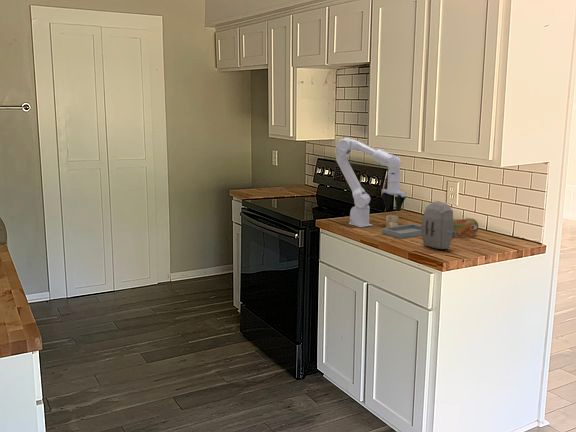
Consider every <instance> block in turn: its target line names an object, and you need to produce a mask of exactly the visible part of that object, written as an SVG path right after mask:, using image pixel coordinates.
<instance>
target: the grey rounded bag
mask: <svg viewBox="0 0 576 432" xmlns="http://www.w3.org/2000/svg"><path fill="white" fill-rule="evenodd" d="M453 219H454V211H453V209H452V207H451V206H450V205H449V204H448V203H446V202H443V201H439V200H437V201H435V200H434V201H432V202H430V203H429V204H428V205H427V206H426V207H425V209H424V213H423V215H422V223H421V224H420V226H421V234H422V235H421V237H422V242H423V244H424V245H425V246H428V247H430V248H432V249H437V250H447V249H449V248H450V246H451V243H452V240H453V236H452V234H453Z"/></svg>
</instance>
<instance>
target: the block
mask: <svg viewBox="0 0 576 432" xmlns="http://www.w3.org/2000/svg"><path fill="white" fill-rule="evenodd" d="M385 218H386V220H385V221H386V223H385V228H389V227H395V226H399V216H398V215H396V214H389V215H386V217H385Z"/></svg>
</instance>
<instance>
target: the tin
mask: <svg viewBox="0 0 576 432" xmlns="http://www.w3.org/2000/svg"><path fill="white" fill-rule="evenodd" d="M478 231H479V223H478V221H477V220H476V219H474V218H453V234H452V238H470V237H474V236H475V235H476V234H478V233H477V232H478Z"/></svg>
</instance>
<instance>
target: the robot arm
mask: <svg viewBox="0 0 576 432" xmlns="http://www.w3.org/2000/svg"><path fill="white" fill-rule="evenodd" d="M351 151H360V152H362V153H364V154H367V155H369V156H372V158H373V160H374V161H375V162H377V163H379V164H381V165H384V166H387V169H388V170H387V188H383V189H382V188H381V194H380V196H381V198H382V200H383V204H384V207H385V209H386V210H387V209H390V208H391V207H390V206H391V200H392V197H393V196H394V202H395V211H396V212H400V211H401V210H402V207H403V203H404V202H405V200H406V198H407V197H406V192H404V191H402V190H400V187H401V186H400V184H401V180H400V179H401V171H400V170H401V167H400V166H401V164H402V160H401V158H400V157H398V156H397V155H394V154H393V153H391V154H390V153H389V152H387V151H385V149H383V148H381V149H380V148H378V149H374V148H372V147H371V146H369V145H367V144H365V143H363V142H360V141H358V139H357V140H356V139H352V138H350V137H345V138H340V139H339V140H338V141H337V144H336V145H335V152H336V153H335V160H336V163H337V165H338V167H339V169H340V171H341V173H342V174H343V176H344V178H345V180H346V183H347V184H348V186H349V188H350V189H351V193H352V198H353V201H354V202H353V204H354V206H352V207H351V209H350V212H349V222H348V225H350V226H351V225H352V226H355V227H359V228H366V227H372V226H373V224H371V223H370V205H369V204H370V202H371V196H370V194H368V193H367V192H366V190H365V188H364V187H362V185H361V183H360V181H359V180H358V178H357V175H356V173H355V172H354V170H353V168H352V166H351V164H350V162H349V160H348V158H349V154H350V152H351Z"/></svg>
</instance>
